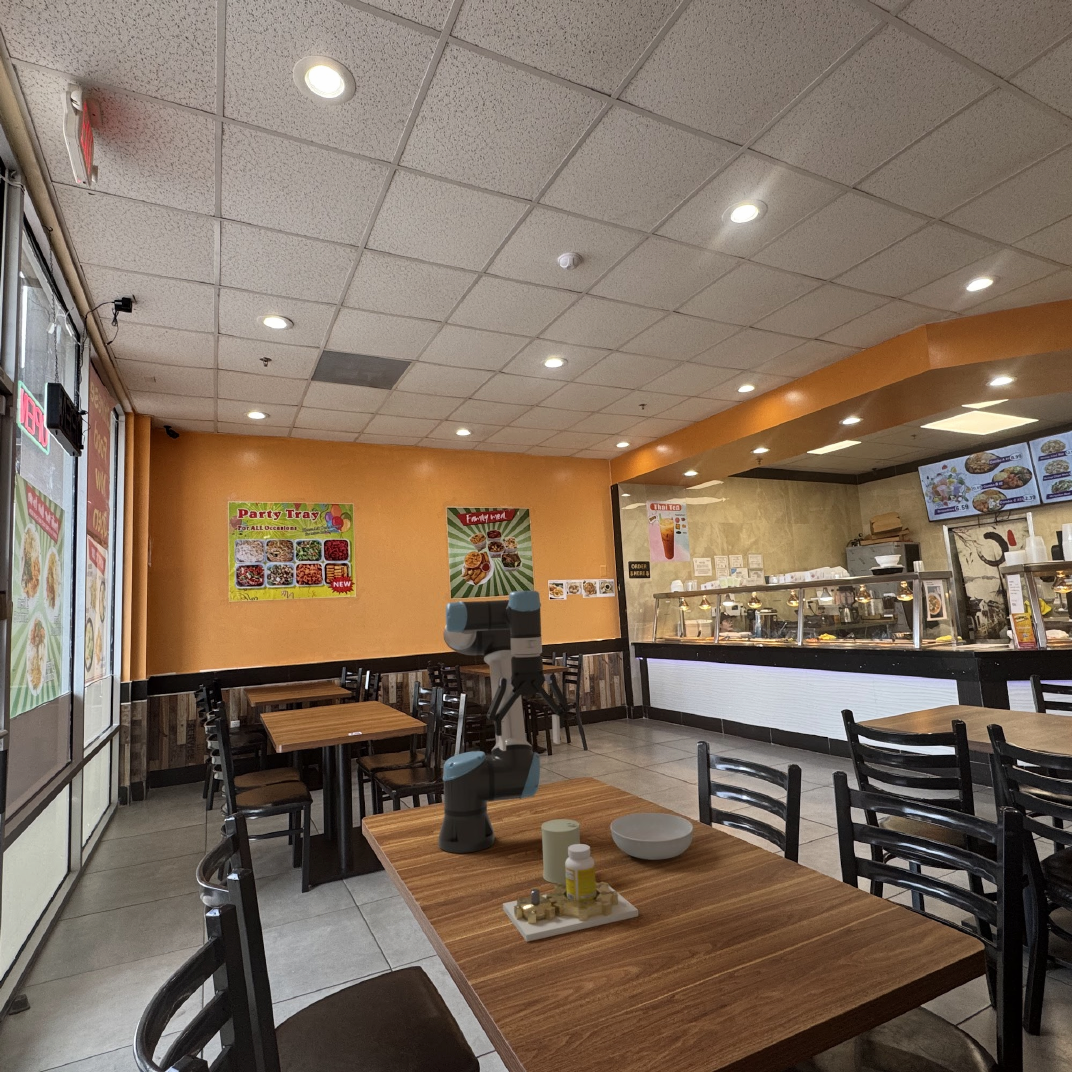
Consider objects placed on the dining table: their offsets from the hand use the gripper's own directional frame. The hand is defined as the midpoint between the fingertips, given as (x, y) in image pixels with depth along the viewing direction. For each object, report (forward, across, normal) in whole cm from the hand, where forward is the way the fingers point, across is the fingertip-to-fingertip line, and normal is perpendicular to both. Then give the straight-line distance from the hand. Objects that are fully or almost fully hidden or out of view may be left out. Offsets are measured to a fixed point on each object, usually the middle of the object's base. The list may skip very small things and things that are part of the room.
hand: (530, 746), depth 156 cm
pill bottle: (+29, +4, -18) cm, 34 cm away
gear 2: (+29, +4, -18) cm, 34 cm away
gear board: (+30, +1, -18) cm, 35 cm away
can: (+31, +7, 0) cm, 31 cm away
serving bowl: (+31, +33, +3) cm, 45 cm away
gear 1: (+29, -7, -18) cm, 35 cm away
